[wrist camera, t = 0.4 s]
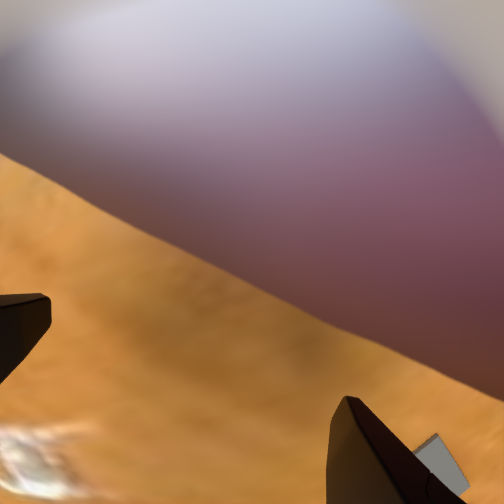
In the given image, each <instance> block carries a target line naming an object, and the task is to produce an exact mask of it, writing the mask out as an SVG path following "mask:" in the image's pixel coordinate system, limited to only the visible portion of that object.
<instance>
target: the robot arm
mask: <svg viewBox="0 0 504 504" xmlns="http://www.w3.org/2000/svg"><path fill="white" fill-rule="evenodd" d="M51 322H52V317H51V300H50V298H49V297H47V296H45V295H43V294H41V293H30V294H8V295H0V384H1V383H2V382H3V381H4V380H5V379H6V378H7V377H8V376H9V374H10V373H11V372H12V371H13V370H14V369H15V368H16V367H17V366H18V365H19V364H20V363H21V362H22V361H23V360H24V359H25V357H26V356H27V355H28V354H29V353H30V351H31V350H32V349H33V348H34V346H35V345H36V344H37V343H38V341H39V340H40V339H41V338H42V336H43V335H44V334H45V333H46V331H47V330H48V329H49V328H50V326H51ZM430 472H431V471H430V470H429V469H428V468H427V467H426V466H425V465H424V464H423V463H422V462H421V461H420V460H419V459H418V458H417V457H416V456H415V455H414V454H413V453H412V452H411V451H410V450H409V449H408V448H407V447H406V446H405V445H404V444H403V443H402V442H401V441H400V440H399V439H398V438H397V437H396V436H395V435H394V434H393V433H392V432H391V431H390V429H389V428H388V427H387V426H386V425H385V424H384V423H383V422H382V421H381V420H380V419H379V418H378V417H377V416H376V415H375V414H374V413H373V412H372V411H371V410H370V409H369V408H368V407H367V406H366V405H365V404H364V403H363V402H362V401H361V400H360V399H359V398H357V397H352V396H344V397H343V398H342V400H341V402H340V404H339V406H338V408H337V409H336V411H335V413H334V415H333V417H332V420H331V424H330V435H329V445H328V455H327V465H326V504H467V503H465V502H464V501H463V500H462V499H461V498H459V497H458V496H457V495H456V494H455V493H453V492H452V491H451V490H450V489H449V488H448V487H447V486H446V485H445V484H444V483H443V482H441V481H440V480H439V479H438V478H437V477H436V476H435V475H434V474H433V473H430Z"/></svg>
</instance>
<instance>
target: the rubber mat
mask: <svg viewBox="0 0 504 504" xmlns="http://www.w3.org/2000/svg"><path fill="white" fill-rule="evenodd" d="M412 453H413V454H414V455H415V456H416V457H417V458H418V459H419V460H420V461H421V462H422V463H423V464H424V465H425V466H426V467H427V468H428V469H429V470H430V471H431V472H430V473H433V474H434V475H435V476H436V477H437V478H438V479H439V480H440V481H441V482H443V483H444V484H445V485H446V486H447V487H448V488H449V489H450V490H451V491H452V492H453V493H455V494H456V495H457V496H460V495H461V494H462V493H463V492H465V491H466V490H467V489H468V488H469V487H470V485H469V483H468V482H467V480H466V478H465V477H464V475H463V474H462V472H461V470H460V469H459V467H458V465H457V464H456V462H455V461H454V459H453V458H452V456H451V454H450V453H449V451H448V450H447V448H446V447H445V445H444V443H443V442H442V440H441V439H440V437H439V436H438V435H437V434H435V435H433V436H432V437H431V438H430V439H429V440H427V441H426V442H425V443H424V444H422V445H421V446H420V447H419V448H417V449H416V450H415V451H414V452H412Z"/></svg>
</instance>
